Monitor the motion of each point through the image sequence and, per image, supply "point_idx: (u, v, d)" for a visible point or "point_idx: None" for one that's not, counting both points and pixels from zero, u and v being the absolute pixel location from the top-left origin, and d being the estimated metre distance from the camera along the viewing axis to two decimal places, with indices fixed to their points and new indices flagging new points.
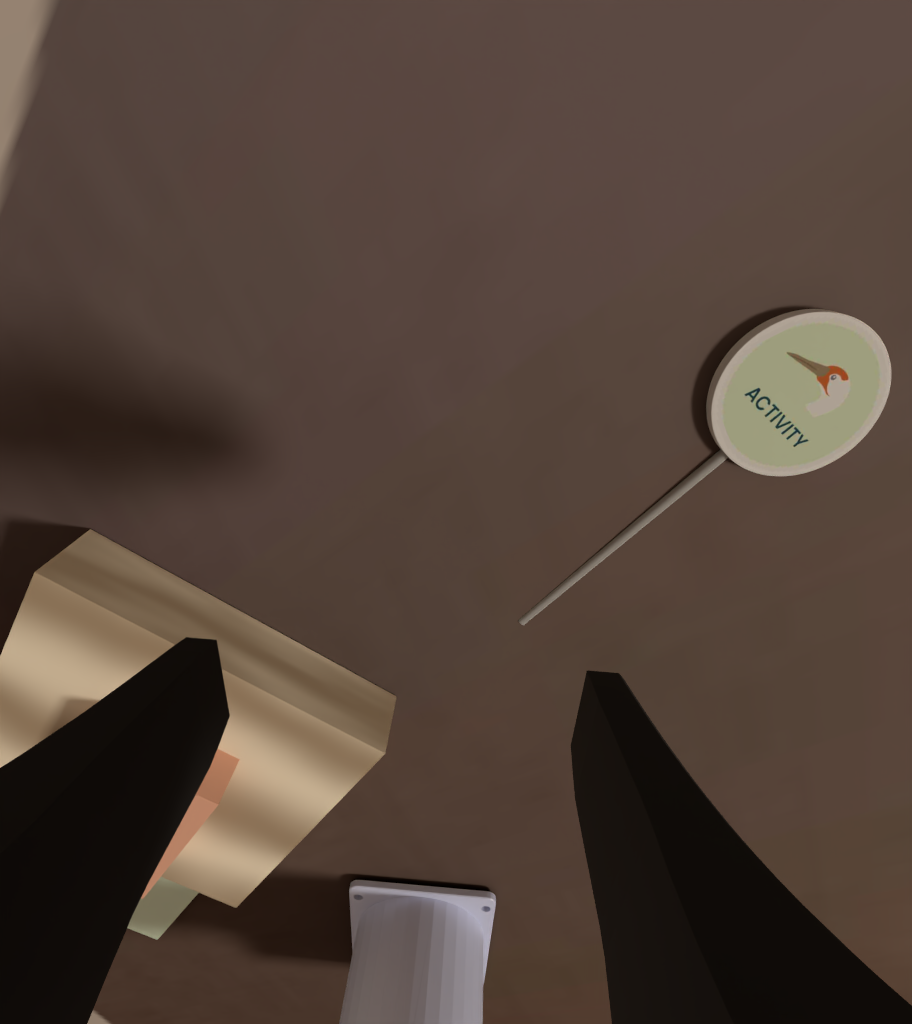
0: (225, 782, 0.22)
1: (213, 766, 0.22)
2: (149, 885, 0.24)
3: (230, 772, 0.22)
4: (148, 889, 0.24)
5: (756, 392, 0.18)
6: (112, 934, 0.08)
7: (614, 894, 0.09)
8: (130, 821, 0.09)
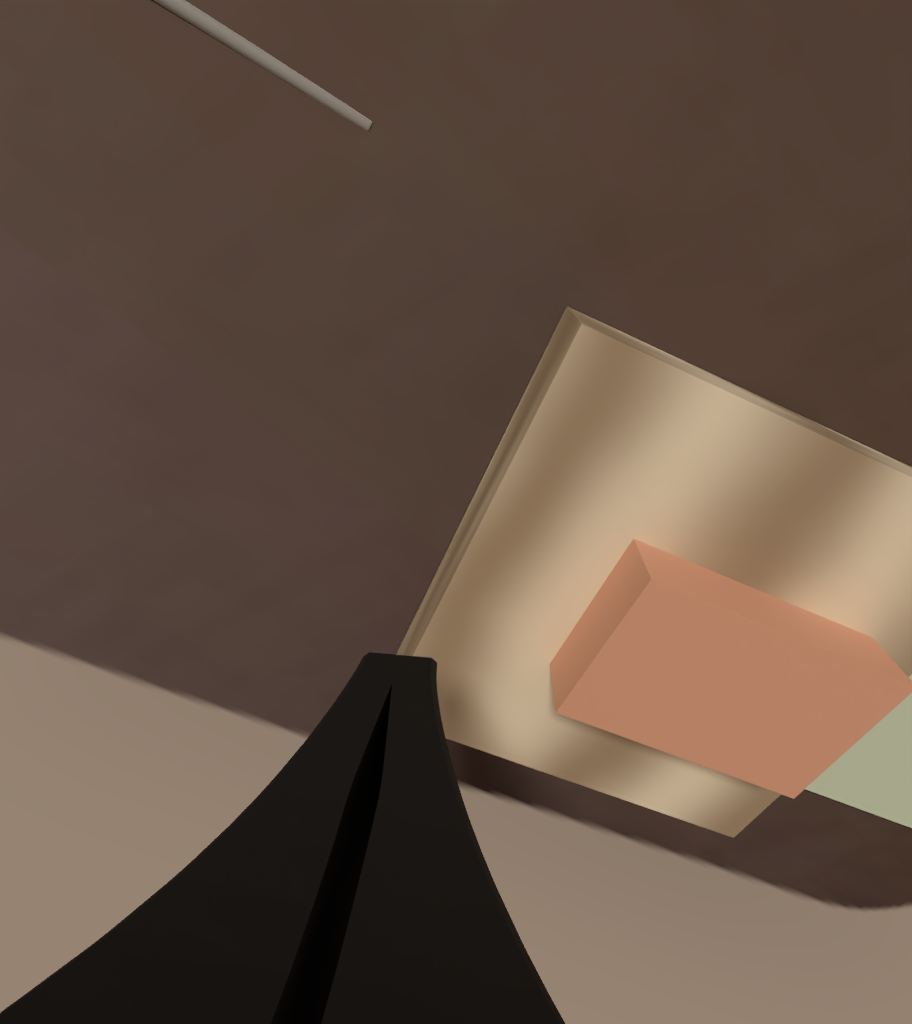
0: (640, 563, 0.15)
1: (623, 575, 0.15)
2: (876, 675, 0.15)
3: (636, 554, 0.15)
4: (888, 678, 0.15)
5: None
6: None
7: None
8: (360, 842, 0.09)
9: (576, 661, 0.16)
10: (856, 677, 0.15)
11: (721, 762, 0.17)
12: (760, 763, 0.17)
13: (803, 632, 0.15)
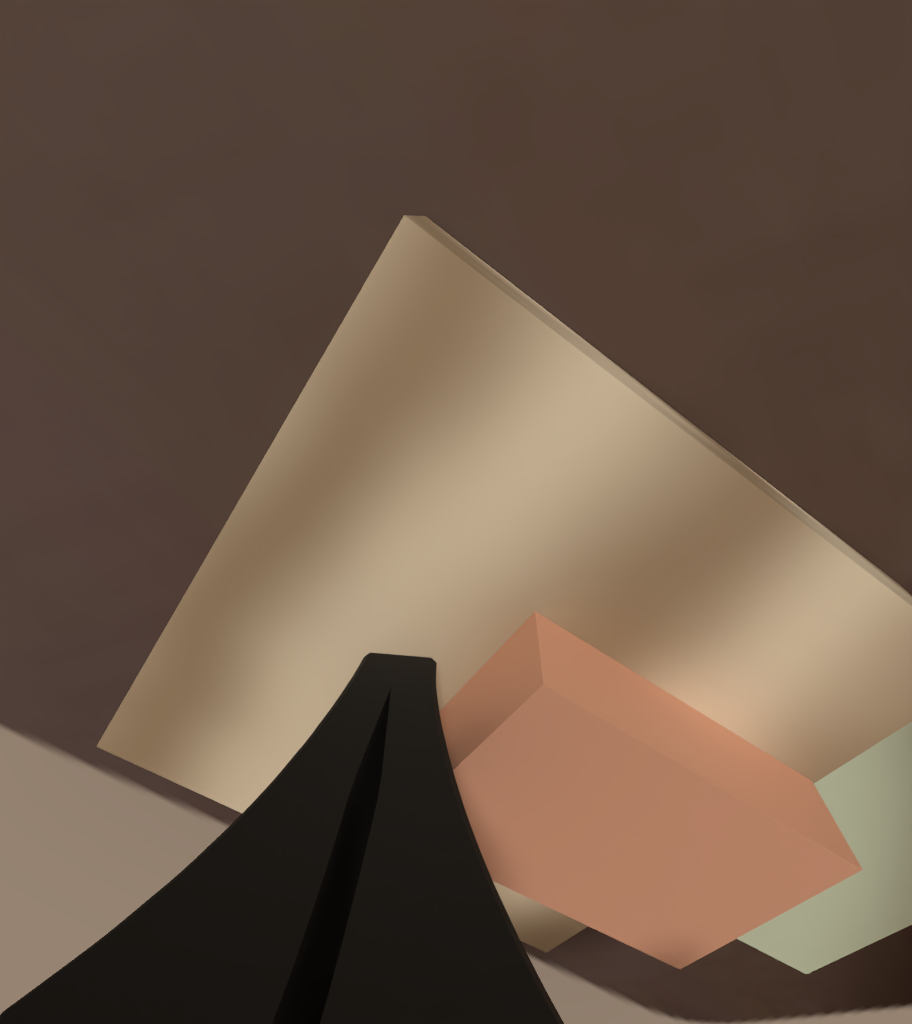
0: (535, 652, 0.10)
1: (511, 661, 0.11)
2: (815, 849, 0.11)
3: (533, 637, 0.11)
4: (830, 854, 0.11)
5: None
6: None
7: None
8: (360, 842, 0.09)
9: None
10: (790, 847, 0.11)
11: (598, 918, 0.13)
12: (647, 926, 0.13)
13: (734, 777, 0.11)
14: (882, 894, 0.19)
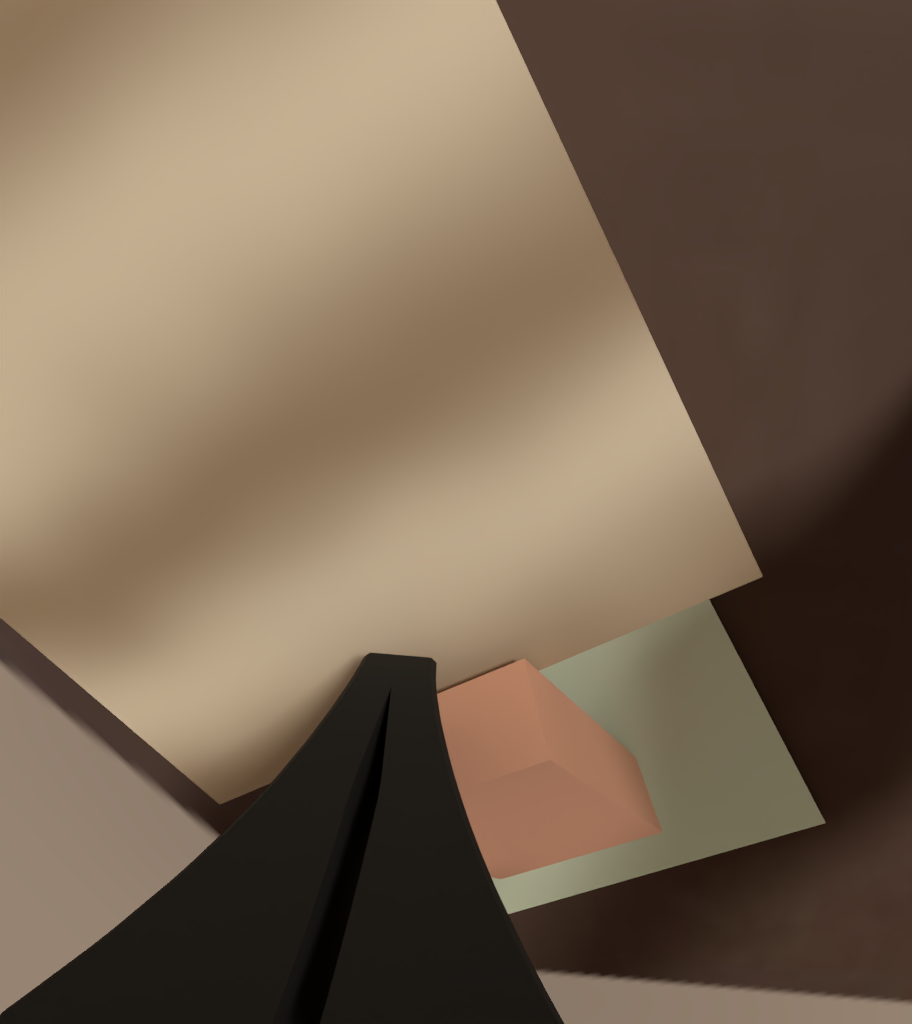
0: (532, 713, 0.11)
1: (496, 707, 0.11)
2: (645, 826, 0.15)
3: (526, 692, 0.11)
4: (651, 827, 0.15)
5: None
6: None
7: None
8: (360, 842, 0.09)
9: None
10: (632, 826, 0.14)
11: None
12: (498, 864, 0.15)
13: (620, 787, 0.14)
14: None
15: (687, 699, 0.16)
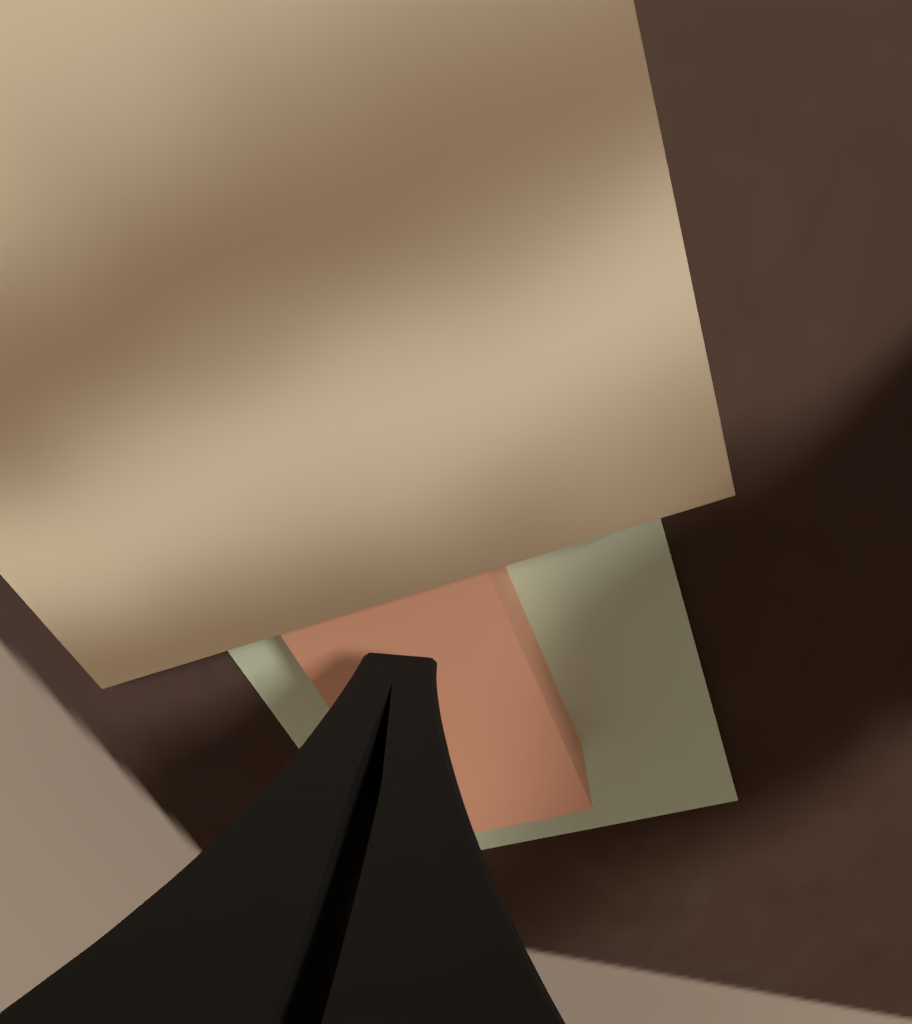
0: None
1: None
2: (574, 781, 0.15)
3: None
4: (580, 788, 0.15)
5: None
6: None
7: None
8: (359, 842, 0.09)
9: None
10: (560, 773, 0.14)
11: None
12: None
13: (553, 708, 0.14)
14: None
15: (625, 649, 0.15)
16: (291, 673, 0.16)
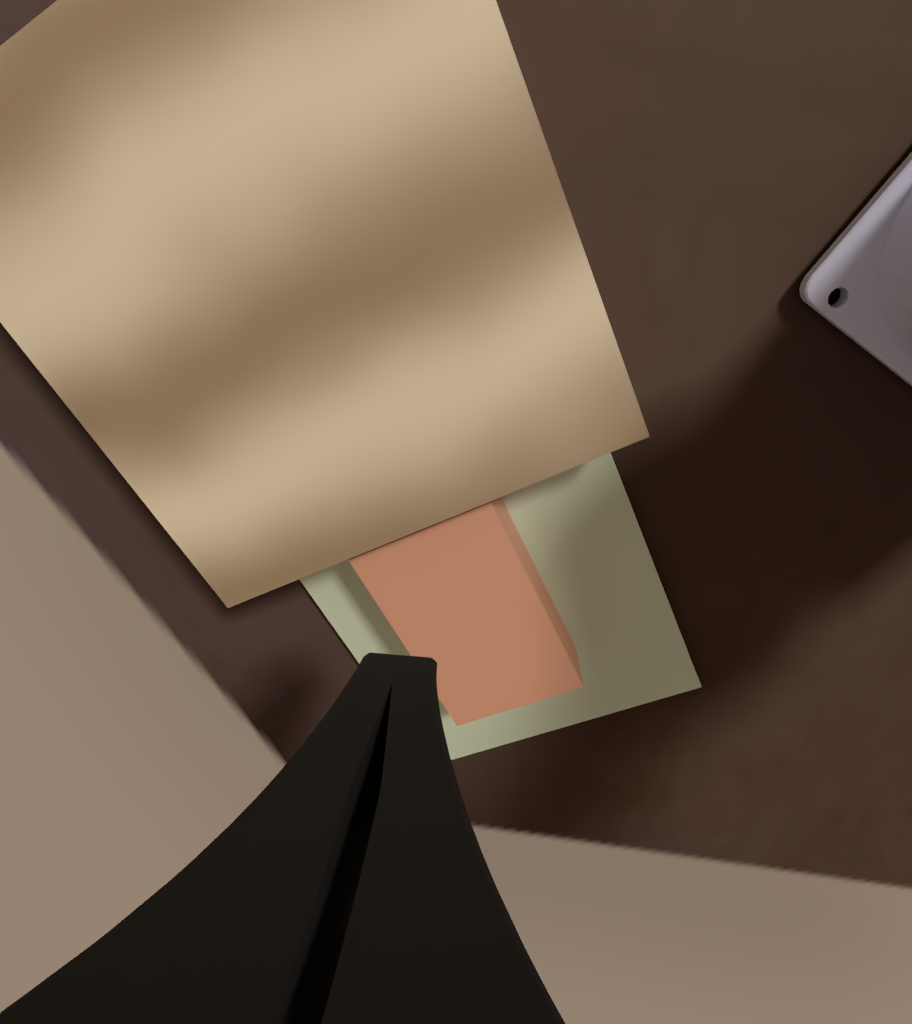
0: None
1: None
2: (567, 664, 0.20)
3: None
4: (573, 670, 0.20)
5: None
6: None
7: None
8: (359, 842, 0.09)
9: None
10: (556, 658, 0.20)
11: None
12: (455, 686, 0.20)
13: (547, 609, 0.19)
14: None
15: (600, 566, 0.20)
16: (353, 603, 0.21)
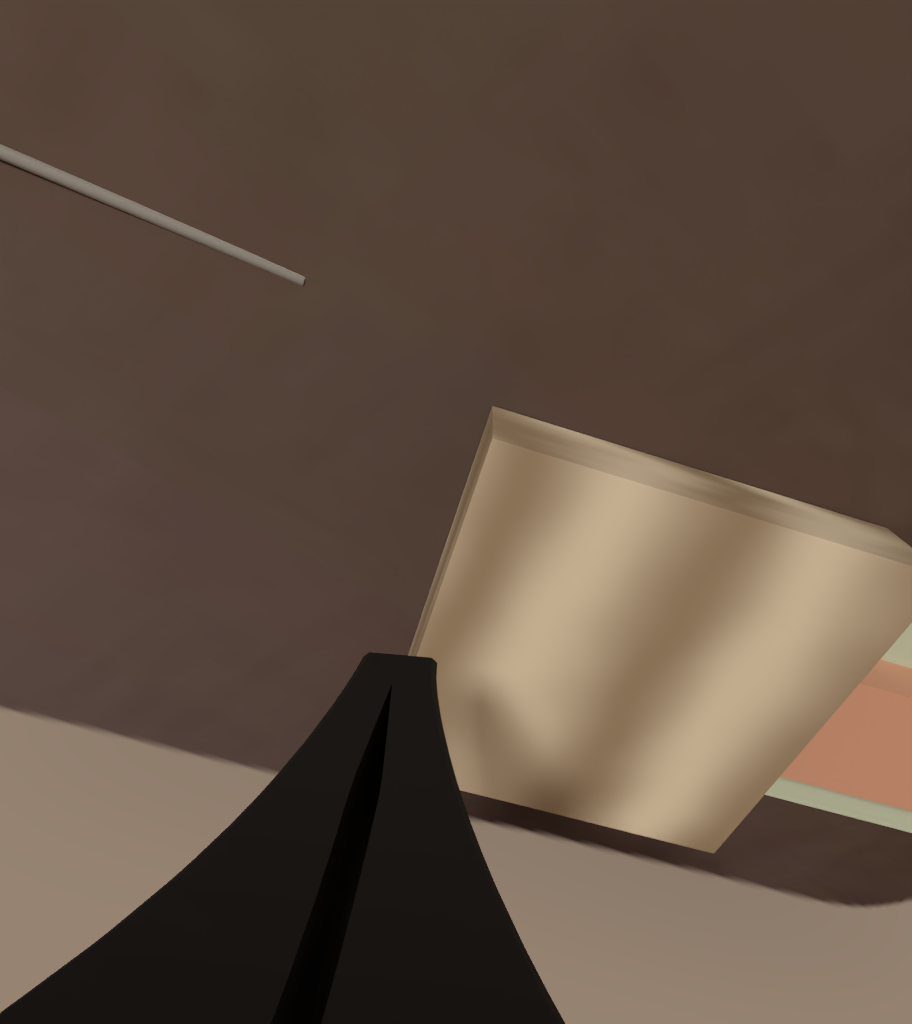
0: None
1: None
2: None
3: None
4: None
5: None
6: None
7: None
8: (360, 841, 0.09)
9: None
10: None
11: (898, 800, 0.22)
12: None
13: None
14: None
15: None
16: None
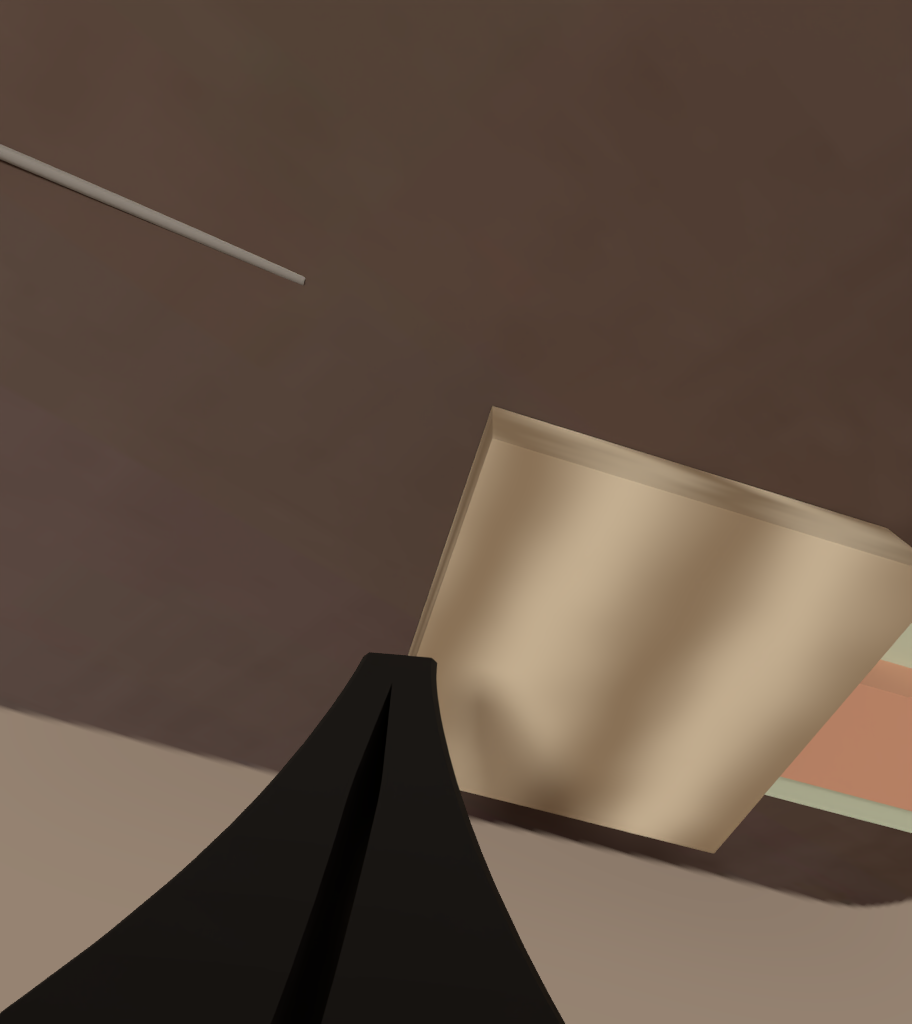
0: None
1: None
2: None
3: None
4: None
5: None
6: None
7: None
8: (360, 841, 0.09)
9: None
10: None
11: (898, 800, 0.22)
12: None
13: None
14: None
15: None
16: None
